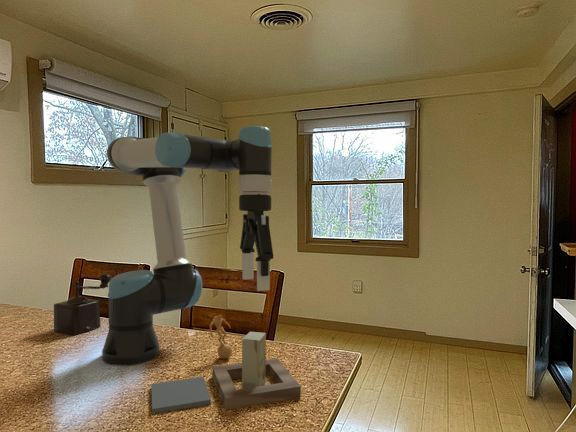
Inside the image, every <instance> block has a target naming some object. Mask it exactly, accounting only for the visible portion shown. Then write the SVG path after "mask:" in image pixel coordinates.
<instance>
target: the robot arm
mask: <svg viewBox="0 0 576 432" xmlns="http://www.w3.org/2000/svg"><path fill="white" fill-rule="evenodd" d="M238 132H239V133H238V138H237V139H231V140H230V139H220V138H212V137H205V136H203V137H202V136H198V135H197V136H196V135H188V134H183V133H181V132H163V133H160V135H159V136H158V137H150V138H144V137H137V136H123V137H122V136H120V137H117V138H114V140H112V141H111V142H110V143H109V144H108V146H107V149H106V157H107V160H108V163H109V165H111V167H113V169H115V170H116V171H117V172H120V173H123V174H125V175H126V174H127V175H130V176H142V183H143V184H144V185H145V186H146V187H148V191H149V192H148V193H149V202H150V208H151V209H150V210H151V218H152V227H153V235H154V243H155V252H156V259H157V260H156V261H157V263H156V264H155V266H154V267H153V268H152V270H153V272H152V271H151V270H148V269H140V270H132V271H127V272H123V273H119V274H117V275H115V276H114V277H111V278H112V279H111V280H110V282H109V283H108V293H107V299H108V332H107V335H106V339H105V342H104V344H103V347H102V351H101V355H102V356H101V360H102V361H103V362H104V363H105V364H108V365H112V366H131V365H132V366H133V365H137V364H140V363H144V362H147V361H150V360H152V359H154V358H156V357H158V355H159V354H160V343H159V339H158V337H157V334H156V331H155V328H154V322H153V321H154V320H153V319H154V315H157V314H158V315H159V314H165V313H168V312H174V311H179V310H184V309H186V308H192V307H193V306H195V305H196V304H197V303H198V302H199V300H200V298H201V296H202V293H203V278H202V276H201V274H200V272H199V271H198V270H197V269H196V268H195V269H194V268H193V263H192V262H191V261H190V260H188V259H187V255H186V246H185V240H184V239H185V238H184V231H183V224H182V223H183V222H182V216H181V209H180V199H179V191H178V184H179V183H180V182H181V180H182V177H183V176H184V174H185V172H186V169H200V170H209V171H210V170H211V171H216V172H221V173H229V172H232V171H233V172H236V171H238V192H239V193H241V194H239V196H238V209H239V211H241V212H246V213H243V215H242V218H243V219H242V228H241V237H240V245H239V249H240V250H241V253H242V254H241V256H242V261H241V263H242V265H241V266H242V267H241V268H242V269H241V271H242V274H241V275H242V278H241V279H242V280H254V273H255V272H254V271H255V270H254V266H255V265H254V263H255V262H256V291H257V292H260V291H262V292H264V291H270V286H271V285H270V284H271V283H270V280H271V277H270V275H271V274H270V273H271V270H270V269H271V267H270V266H271V262H270V261H271V260H274V250H273V245H272V236H271V230H270V216H269V215H267V214H266V215H265V214H264V212H269V211H271V210H272V196H271V195H269V194H270V193H271V192H272V185H273V184H274V181H273V180H272V157H273V156H272V155H273V154H272V148H273V145H272V132H271V130H270V129H269V128H268V127H266V126H260V125H247V126H243V127H241V128H240V129H239V131H238ZM254 246H255V248H256V250H255V248H254ZM254 253H257V256H256V257H254ZM254 259H255V261H254Z"/></svg>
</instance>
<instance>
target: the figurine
mask: <svg viewBox="0 0 576 432" xmlns="http://www.w3.org/2000/svg"><path fill="white" fill-rule="evenodd" d="M223 322H224V323H225V324H226V325H227V326H228V327H229V329H231V325H230V324H229V322H228V321H227V320H226V319H225V318H223V317H222V315H221V314H218V315H215V316H214V317H212V321H211V322H210V324H209V331H210V337H213V336H214V333H213V329H212V328H213V327H212V326H213V325H215V327H216V329H215V332H216V333H217V335H218V336H219V337H218V342H219V344H220V345H219V346H218V349H217V355H218V357H219V358H220V359H224V360H225V359H228V358H230V357H231V355H232V353H233V349H232V346H230V345H229V344H228V343H227V342H226V341H225V338H226V337H227V334H228V333H227V332H226V331H225V329H224V327H223V326H222V323H223ZM221 340H222V341H221Z"/></svg>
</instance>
